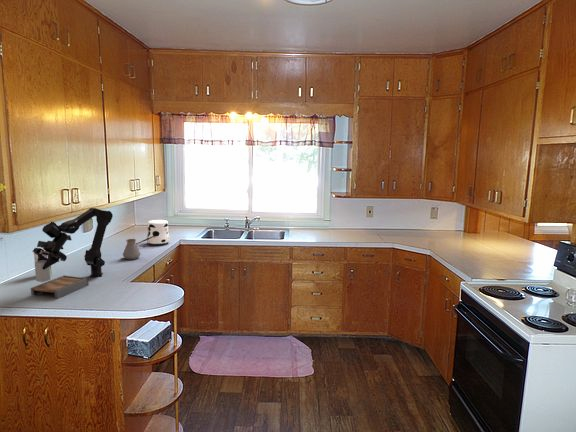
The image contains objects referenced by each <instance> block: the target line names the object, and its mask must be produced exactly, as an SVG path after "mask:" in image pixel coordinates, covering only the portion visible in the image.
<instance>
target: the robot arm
mask: <svg viewBox="0 0 576 432" xmlns="http://www.w3.org/2000/svg"><path fill="white" fill-rule="evenodd" d="M113 215H114V214H113V213H112V211H110V210H102V209H99V208H97V207H91V208H89V209H87V210H86V211H85V212H83V213H82V214H79V215H78V216H76V217H75V218H73V219H70V220H66V221H64V222H62V223H61V224H60V225H57V224H56V223H55V222H54V221H50V222H51V223H50V222H49V223H47V224H46V225H44V226H43V228H42V231H41V232H43V234H46V235H47V236H48V237H49V238H51V239H52V240H47V241H43V240H38V242H37V245H36V247H34V249H32V253H33V254H34V253H35V254H37V255H38V261H40V260H47V261H46V263H45V264H44V266H43V268H42V269H43V270H45V269H46V268H48V267H50V266H51V267H52V266H53V265H55V264H57V263H59V262H65V261H66V260H67V259H68V257H67V255H66V254H64V252H62V251H61V250H64V245H65V244H66V242H67V241H69V242H70V241H72V237H71V236H72V234H75V233H76V232H77V231H78V230H80V226H83V224H85V223H87V222H88V221H89V220H91V219H93V218H94V217H96V223H97V225H96V228H95V232H94V236H93V240H92V243H91V247H90V248H89V249H88V250H85V254H84V256H83V257H84V262H85V263H86V265H87V266H90V274H89V278H97V277H100V278H101V277H103V275H104V272H102V267H103V266H105V265H106V264H105V263H106V261H105V260H104V259H102V252H101V247H102V244H103V239H104V237H105V234H106V230H107V226H108V225H109V224H111V222H112V219H113V217H114V216H113ZM68 234H70V235H68ZM44 250H45V251H44ZM47 256H48V259H47V258H46V257H47Z"/></svg>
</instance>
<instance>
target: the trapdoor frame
mask: <svg viewBox="0 0 576 432" xmlns="http://www.w3.org/2000/svg"><path fill="white" fill-rule="evenodd" d="M62 277H66V278H75V279H82V280H80V281H77V282H75V283H72V284H70V285H68V286H65V287H63V288H60V289H58V290H55V291H54V293H53V294H54V299H56V300H58V299H60V298H63V297H65V296H67V295H69V294H72V293H74V292H76V291H78V290H81V289H83V288H86V287H88V286H89V285H90V284H89V277H80V276H73V275H62V276H59V277H56V278H54V279H50V280H48V281H45V282H42V283H41V284H37V285H34V286H33V287H30V295H33V296H32V297H35V296H38V295H40V294H42V293H44V291H36V290H34V288H36V287H39V286H41V285H44V284H47V283H49V282H52V281H54V280H57V279H60V278H62ZM39 293H40V294H39ZM34 295H35V296H34Z"/></svg>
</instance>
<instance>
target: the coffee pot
mask: <svg viewBox="0 0 576 432" xmlns="http://www.w3.org/2000/svg"><path fill="white" fill-rule="evenodd" d="M152 237H154V236H152ZM152 237H150V238H152ZM150 238H147V237H146V238H145V239H143V240H140V241H138V242H137V239H136V238H128V239H125V240H126V241H125V242H126V245H125V248H124V250H123V252H122V256H123V258H124V259H126V260H137V259H138V258H139V257H140V256H141V251H140V249H139V247H138V244H140V243H141V244H142V243H143V242H146V241H147V240H149V239H150ZM154 238H155V237H154Z"/></svg>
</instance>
